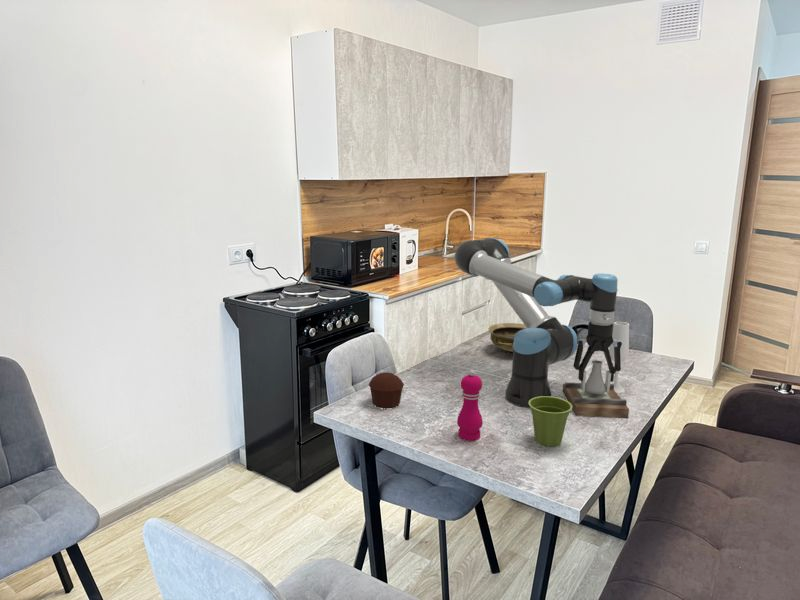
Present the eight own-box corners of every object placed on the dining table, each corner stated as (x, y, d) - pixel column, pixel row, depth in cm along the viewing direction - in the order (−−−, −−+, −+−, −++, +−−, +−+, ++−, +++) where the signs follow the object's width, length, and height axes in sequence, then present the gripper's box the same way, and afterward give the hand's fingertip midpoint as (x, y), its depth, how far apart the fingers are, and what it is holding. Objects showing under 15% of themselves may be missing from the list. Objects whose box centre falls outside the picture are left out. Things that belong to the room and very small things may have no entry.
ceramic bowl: (528, 368, 217) (530, 343, 215) (474, 356, 231) (475, 333, 229) (556, 349, 241) (558, 327, 239) (505, 339, 255) (506, 318, 253)
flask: (581, 392, 182) (583, 363, 179) (585, 385, 188) (587, 356, 186) (604, 396, 179) (607, 367, 176) (607, 389, 185) (610, 360, 183)
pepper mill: (451, 435, 161) (453, 369, 156) (467, 428, 166) (469, 364, 161) (471, 444, 156) (474, 376, 151) (486, 436, 161) (490, 370, 156)
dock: (575, 415, 175) (576, 402, 174) (562, 391, 194) (563, 379, 193) (628, 418, 174) (629, 404, 173) (609, 393, 193) (610, 381, 192)
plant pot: (544, 428, 166) (546, 392, 164) (578, 443, 157) (581, 406, 155) (517, 438, 159) (519, 401, 157) (550, 455, 150) (553, 416, 148)
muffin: (411, 404, 182) (411, 375, 180) (385, 413, 175) (385, 383, 173) (386, 393, 191) (386, 365, 189) (361, 402, 184) (361, 373, 181)
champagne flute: (606, 384, 201) (612, 320, 196) (626, 388, 198) (633, 322, 193) (603, 390, 196) (609, 324, 190) (623, 394, 193) (630, 327, 187)
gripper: (571, 324, 175) (566, 393, 180) (637, 326, 174) (629, 395, 179) (566, 318, 182) (561, 384, 187) (629, 320, 181) (622, 387, 186)
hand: (594, 390), depth 183 cm, fingers closed on flask, 7 cm apart
